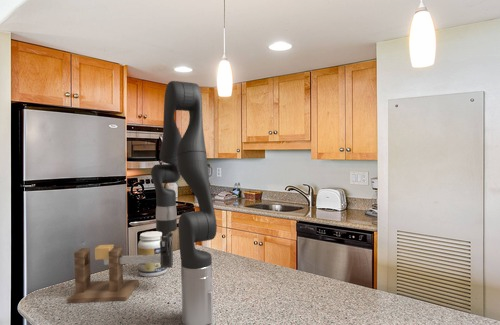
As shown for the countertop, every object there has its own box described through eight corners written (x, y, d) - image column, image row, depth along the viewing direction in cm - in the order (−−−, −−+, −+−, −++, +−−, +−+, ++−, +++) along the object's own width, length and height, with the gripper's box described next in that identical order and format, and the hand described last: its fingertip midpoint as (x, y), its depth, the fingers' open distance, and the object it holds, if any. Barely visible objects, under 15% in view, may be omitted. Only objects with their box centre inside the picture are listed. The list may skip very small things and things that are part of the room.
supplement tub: (157, 279, 137) (156, 237, 136) (132, 276, 141) (131, 235, 140) (173, 269, 148) (172, 231, 148) (149, 266, 152) (148, 229, 152)
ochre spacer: (113, 254, 126) (113, 244, 126) (109, 259, 121) (108, 248, 121) (100, 255, 126) (100, 244, 126) (95, 259, 121) (94, 248, 121)
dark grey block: (173, 264, 127) (172, 243, 126) (171, 267, 124) (171, 246, 123) (106, 267, 125) (106, 245, 125) (103, 269, 122) (103, 248, 122)
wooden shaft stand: (138, 283, 132) (137, 243, 132) (126, 300, 116) (125, 255, 116) (86, 285, 131) (85, 244, 131) (67, 303, 115) (66, 257, 115)
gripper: (173, 221, 118) (174, 269, 118) (179, 214, 132) (179, 257, 132) (151, 221, 117) (152, 270, 118) (160, 214, 131) (160, 258, 132)
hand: (167, 263), depth 125 cm, fingers closed on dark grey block, 3 cm apart
